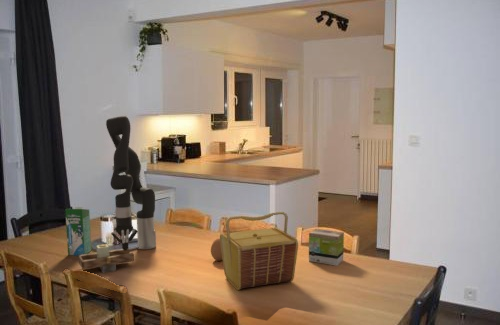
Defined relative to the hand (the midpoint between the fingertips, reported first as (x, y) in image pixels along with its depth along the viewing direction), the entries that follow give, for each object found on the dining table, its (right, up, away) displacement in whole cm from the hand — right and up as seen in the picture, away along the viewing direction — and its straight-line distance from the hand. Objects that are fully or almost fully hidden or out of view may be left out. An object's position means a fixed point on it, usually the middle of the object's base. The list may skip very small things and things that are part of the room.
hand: (125, 249), depth 238 cm
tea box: (+99, -6, +2) cm, 99 cm away
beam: (-8, -8, -4) cm, 12 cm away
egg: (+46, -6, +5) cm, 47 cm away
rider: (-9, -4, -5) cm, 11 cm away
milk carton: (-30, -6, +21) cm, 37 cm away
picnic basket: (+65, -10, -23) cm, 70 cm away
